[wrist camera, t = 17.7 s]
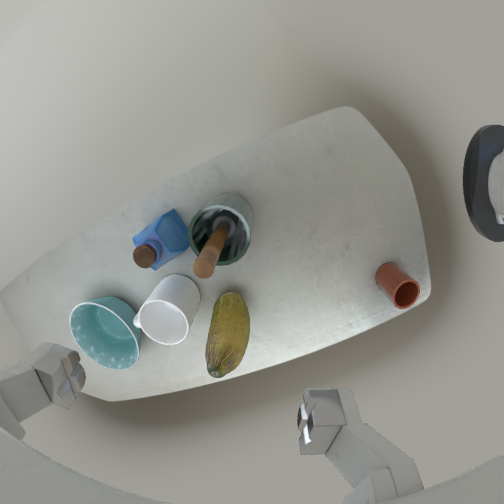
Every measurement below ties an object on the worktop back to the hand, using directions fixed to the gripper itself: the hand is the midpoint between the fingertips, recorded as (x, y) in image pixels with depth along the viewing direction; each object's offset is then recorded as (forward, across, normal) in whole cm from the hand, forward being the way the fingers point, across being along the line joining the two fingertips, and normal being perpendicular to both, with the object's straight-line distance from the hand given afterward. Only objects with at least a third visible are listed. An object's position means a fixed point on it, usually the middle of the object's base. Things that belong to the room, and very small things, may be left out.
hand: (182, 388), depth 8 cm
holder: (+38, -28, +10) cm, 48 cm away
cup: (+38, +2, +2) cm, 38 cm away
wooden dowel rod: (+37, +2, +2) cm, 37 cm away
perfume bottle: (+38, +12, +6) cm, 40 cm away
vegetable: (+38, 0, +17) cm, 42 cm away
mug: (+38, +12, +18) cm, 44 cm away
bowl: (+38, +24, +25) cm, 51 cm away
